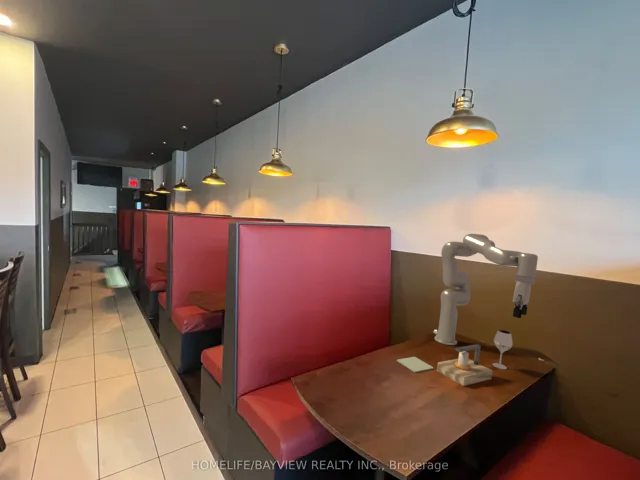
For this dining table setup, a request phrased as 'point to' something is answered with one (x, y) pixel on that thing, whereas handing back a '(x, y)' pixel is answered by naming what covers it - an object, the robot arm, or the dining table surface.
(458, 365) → the plug
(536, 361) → the dining table surface
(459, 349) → the grey bar
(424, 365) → the mat
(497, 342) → the wineglass
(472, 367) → the socket block
